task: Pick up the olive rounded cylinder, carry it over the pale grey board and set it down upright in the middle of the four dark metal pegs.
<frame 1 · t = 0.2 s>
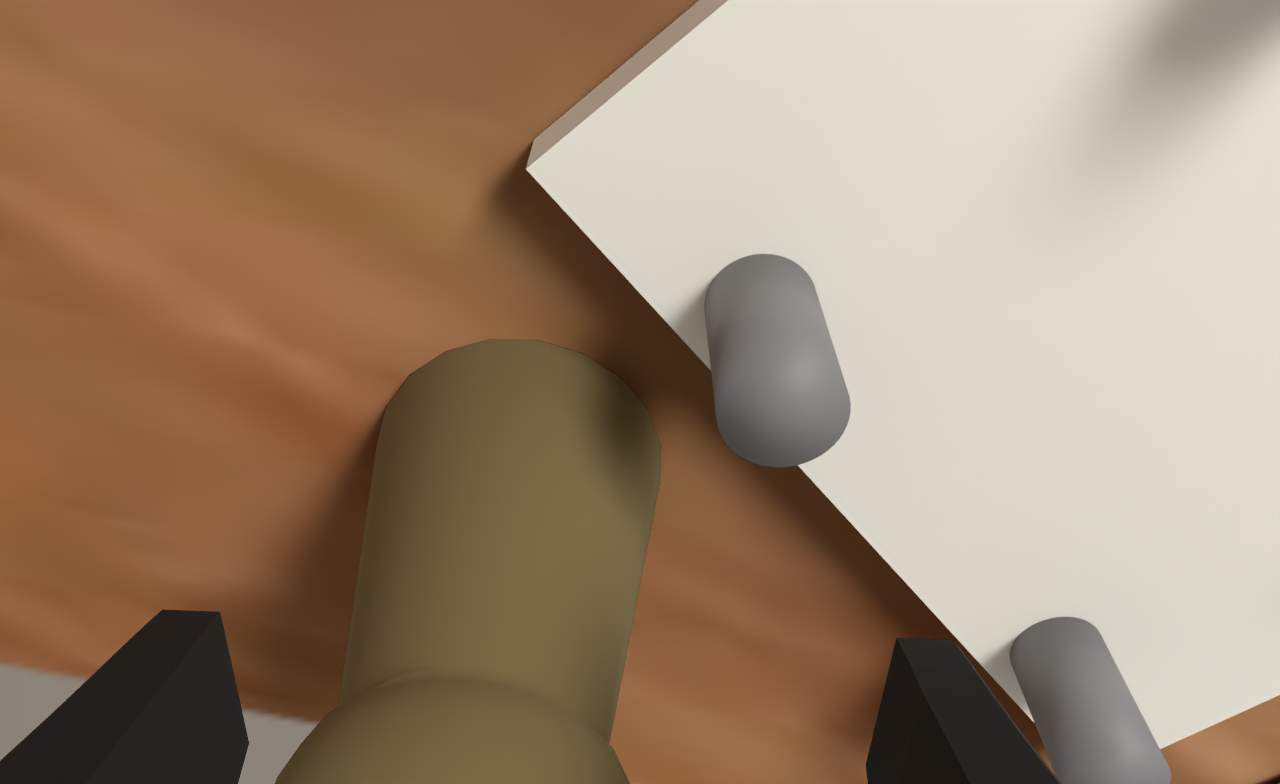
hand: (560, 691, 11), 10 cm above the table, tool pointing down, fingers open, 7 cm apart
olive rounded cylinder: (521, 457, 22), on the table
peg board: (1151, 304, 20), on the table
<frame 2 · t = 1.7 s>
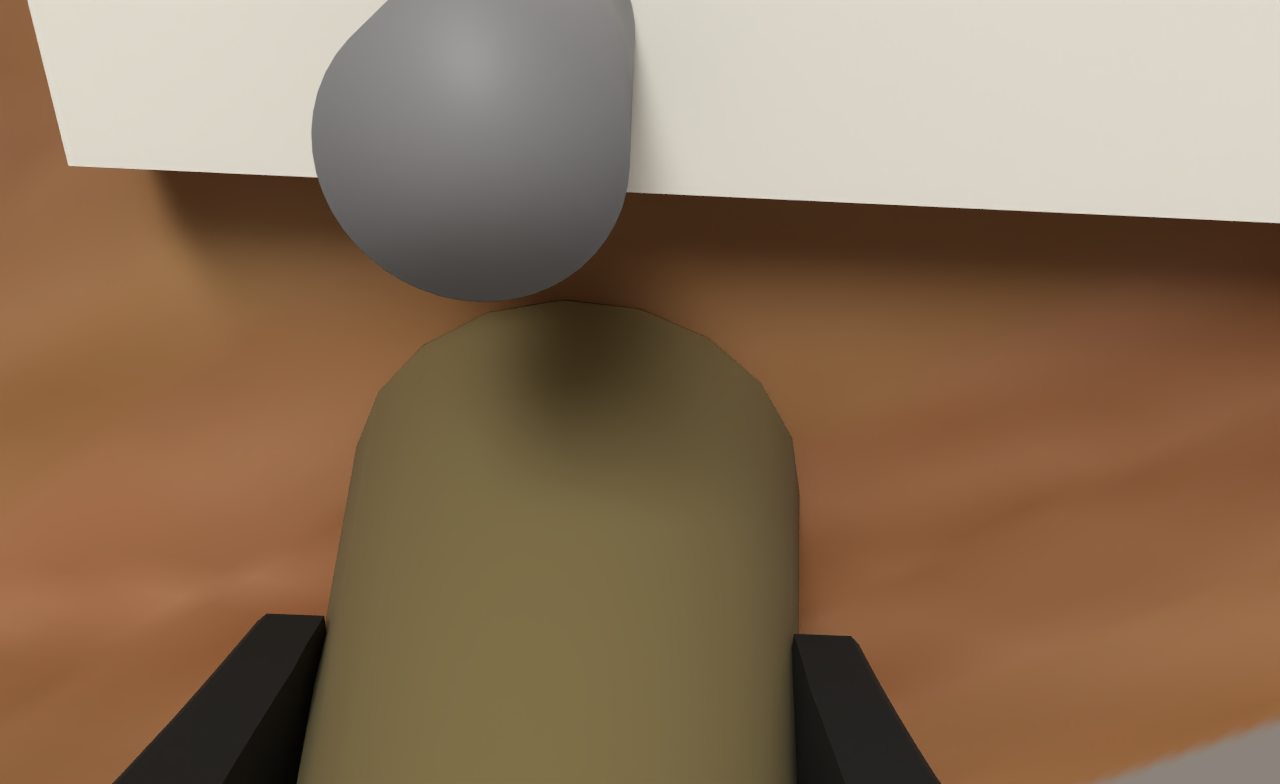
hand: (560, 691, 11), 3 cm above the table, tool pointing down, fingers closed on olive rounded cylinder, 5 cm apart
olive rounded cylinder: (578, 489, 14), on the table, touching gripper
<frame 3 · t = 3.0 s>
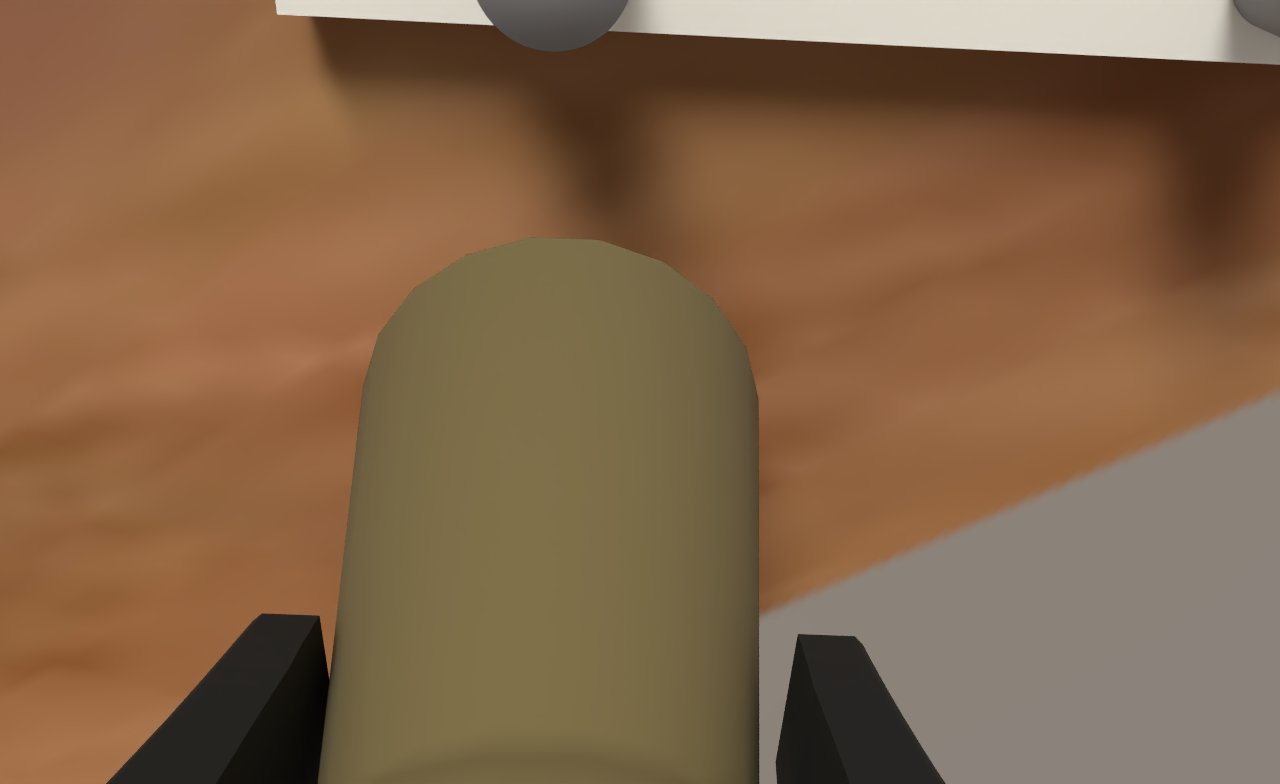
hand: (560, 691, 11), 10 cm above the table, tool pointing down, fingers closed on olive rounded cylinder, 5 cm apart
olive rounded cylinder: (562, 412, 16), point 5 cm above the table, touching gripper
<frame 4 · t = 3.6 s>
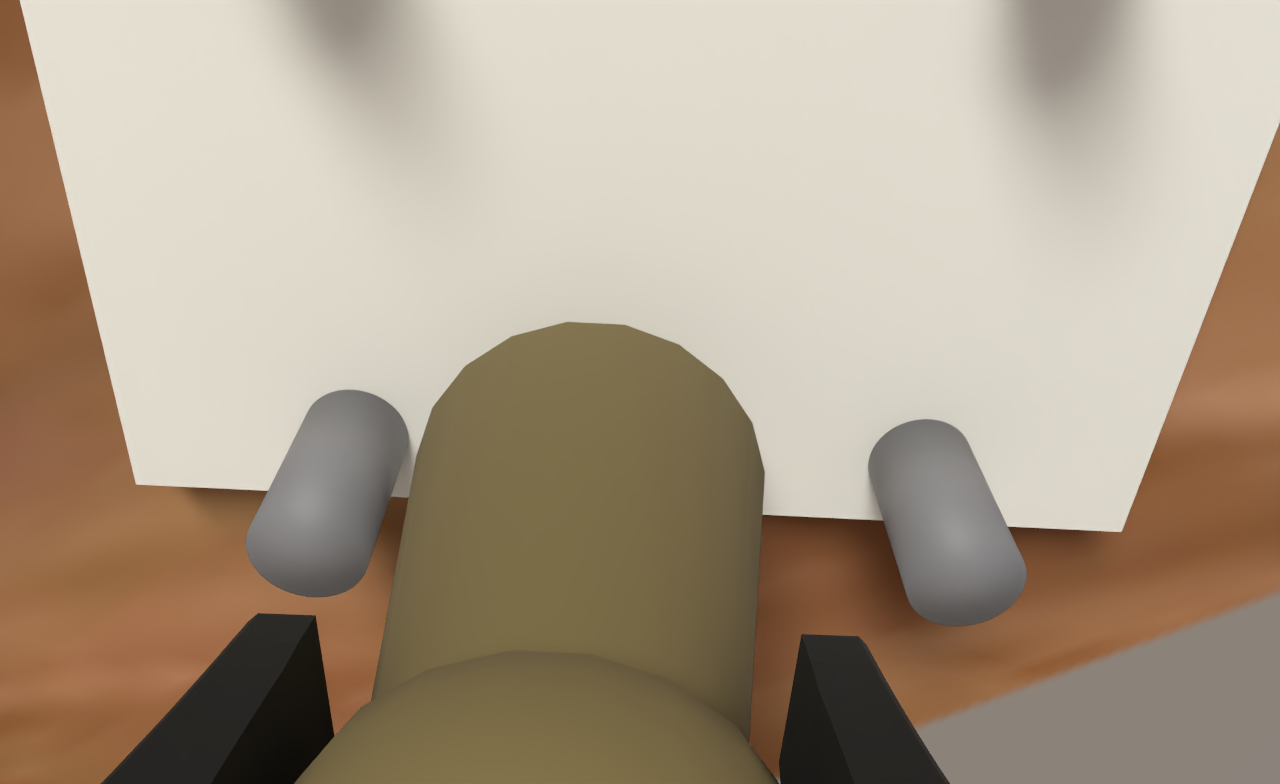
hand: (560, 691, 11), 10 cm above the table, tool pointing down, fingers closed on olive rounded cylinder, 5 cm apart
olive rounded cylinder: (590, 483, 18), point 4 cm above the table, touching gripper
peg board: (658, 148, 19), on the table
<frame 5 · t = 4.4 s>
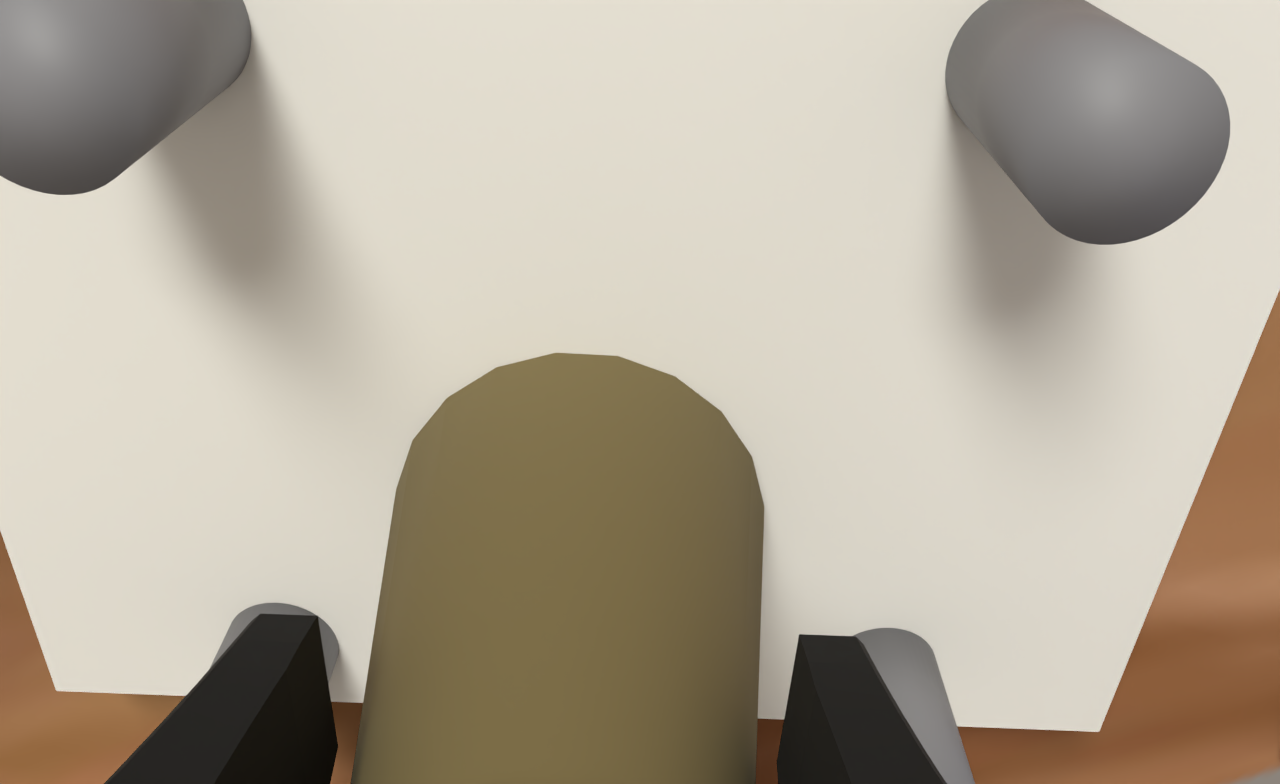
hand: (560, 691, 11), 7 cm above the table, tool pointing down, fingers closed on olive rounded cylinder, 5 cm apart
olive rounded cylinder: (580, 516, 17), point 2 cm above the table, touching gripper, peg board
peg board: (595, 355, 18), on the table
when the fingers open (6 cm above the table, at t = 5.1 s): olive rounded cylinder stays where it is, resting on peg board.
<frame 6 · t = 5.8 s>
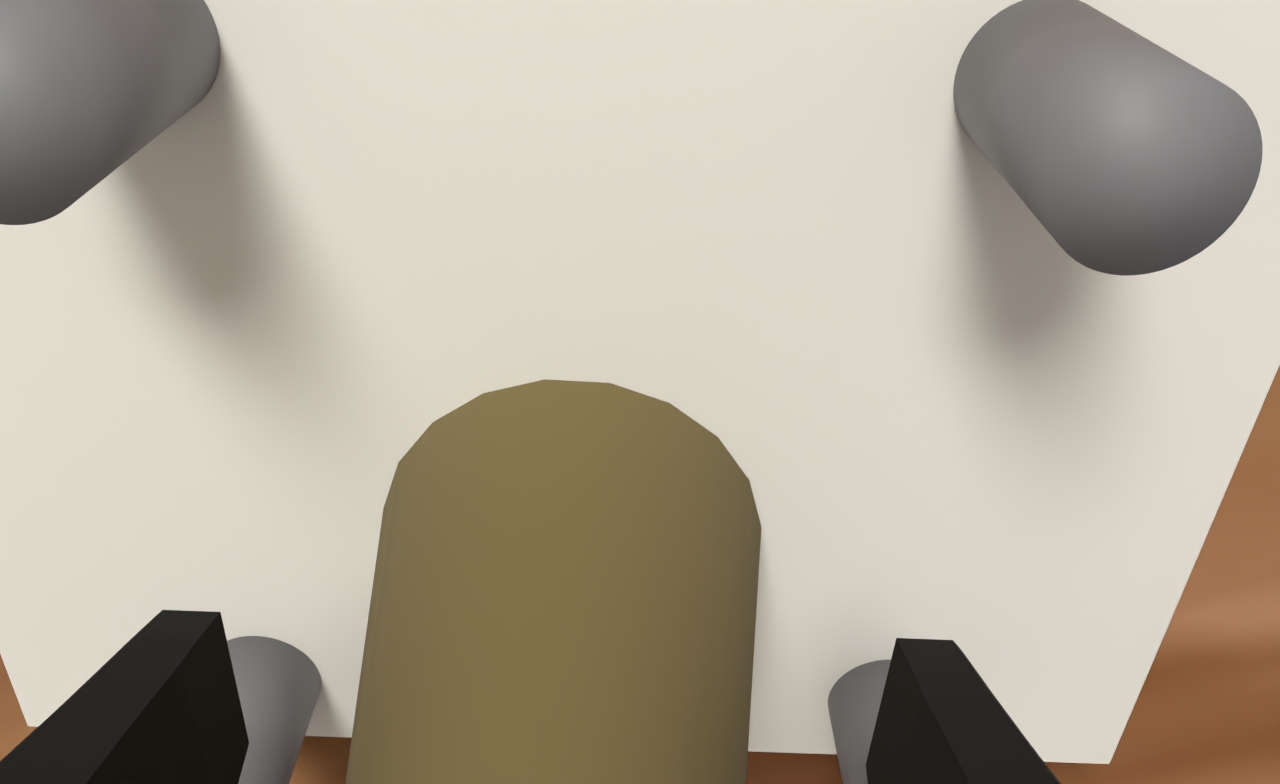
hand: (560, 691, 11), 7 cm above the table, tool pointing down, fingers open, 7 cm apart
olive rounded cylinder: (573, 532, 17), point 1 cm above the table, touching peg board
peg board: (586, 379, 17), on the table
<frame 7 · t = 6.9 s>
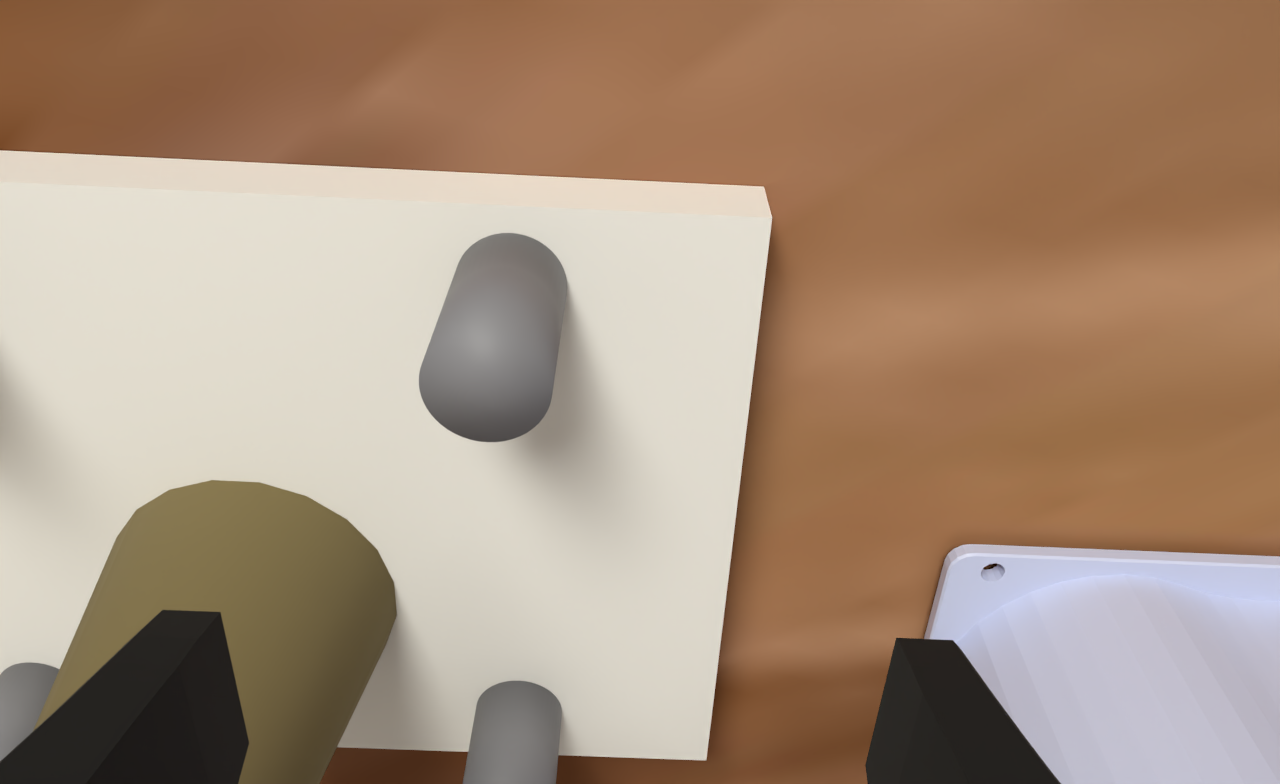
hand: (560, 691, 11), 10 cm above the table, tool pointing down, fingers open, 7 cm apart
olive rounded cylinder: (259, 586, 23), point 1 cm above the table, touching peg board
peg board: (269, 472, 23), on the table
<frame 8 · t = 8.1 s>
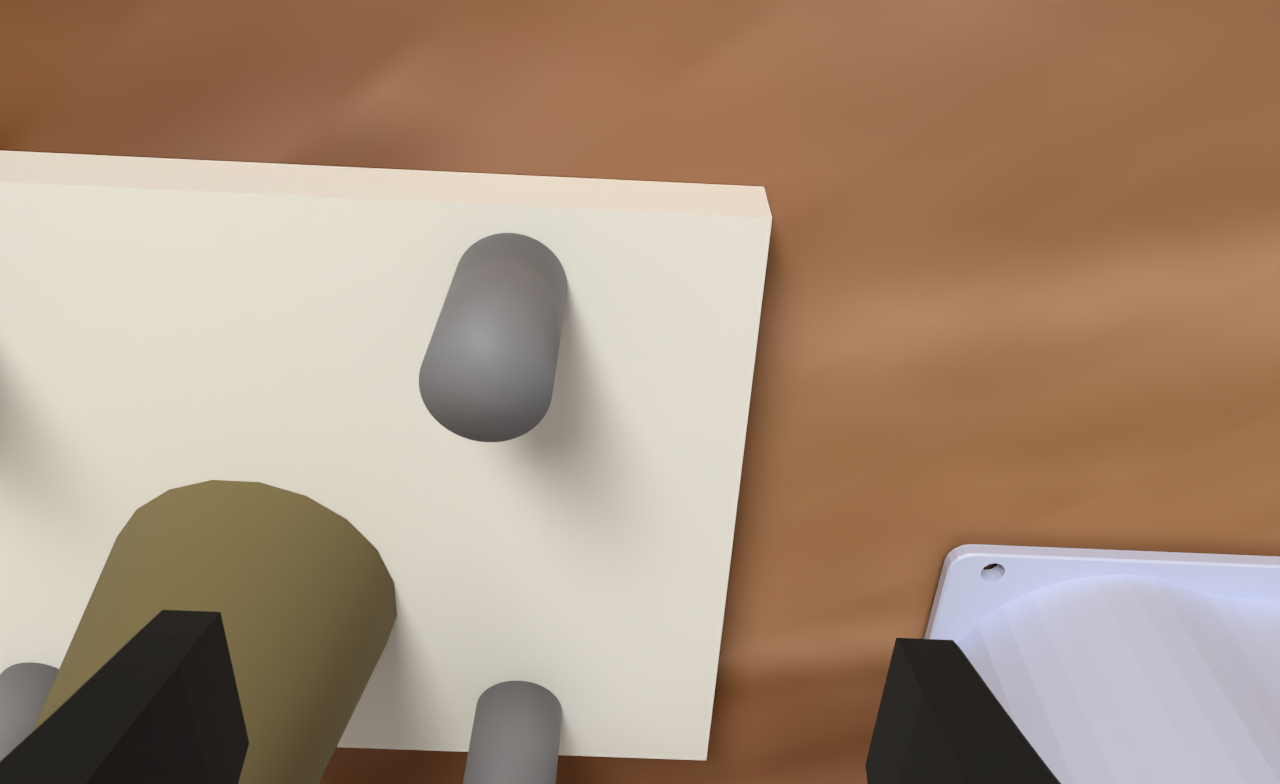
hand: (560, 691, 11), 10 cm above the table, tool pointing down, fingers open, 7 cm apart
olive rounded cylinder: (259, 586, 23), point 1 cm above the table, touching peg board
peg board: (269, 472, 23), on the table
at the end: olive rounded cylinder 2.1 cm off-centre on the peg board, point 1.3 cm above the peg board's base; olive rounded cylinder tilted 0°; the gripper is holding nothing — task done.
